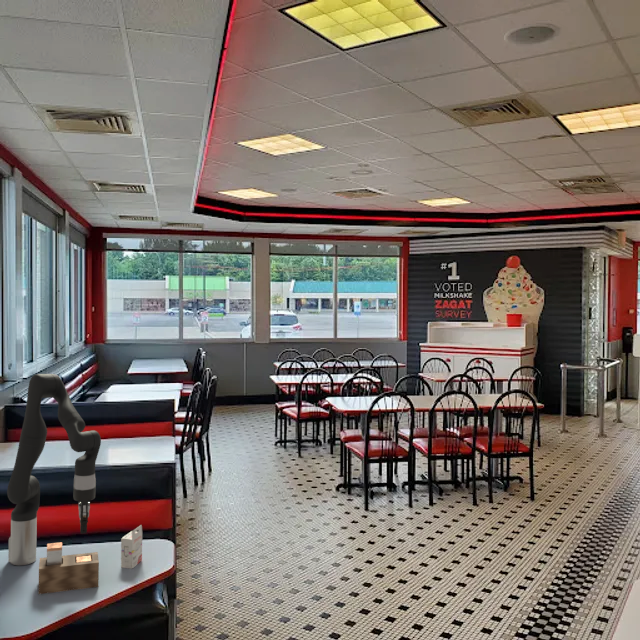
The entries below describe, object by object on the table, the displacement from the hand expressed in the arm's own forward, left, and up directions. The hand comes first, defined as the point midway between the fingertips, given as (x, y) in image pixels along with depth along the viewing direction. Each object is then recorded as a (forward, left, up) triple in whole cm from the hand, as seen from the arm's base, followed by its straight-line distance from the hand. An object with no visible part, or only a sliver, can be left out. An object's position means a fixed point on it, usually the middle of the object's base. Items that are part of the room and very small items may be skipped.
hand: (83, 532), depth 242 cm
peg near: (-7, -6, -12) cm, 16 cm away
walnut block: (-4, -3, -19) cm, 19 cm away
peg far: (0, 0, -18) cm, 18 cm away
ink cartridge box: (+6, +21, -19) cm, 29 cm away
